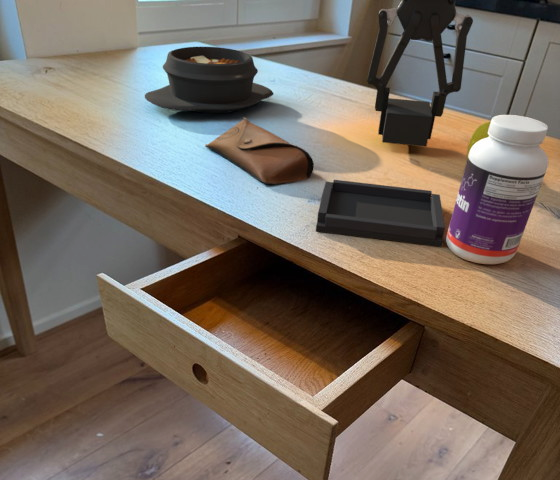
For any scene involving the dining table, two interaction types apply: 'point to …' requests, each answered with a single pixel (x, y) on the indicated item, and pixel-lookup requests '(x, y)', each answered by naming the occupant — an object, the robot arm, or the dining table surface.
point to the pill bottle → (498, 190)
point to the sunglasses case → (263, 154)
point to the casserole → (209, 81)
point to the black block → (407, 122)
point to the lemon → (479, 135)
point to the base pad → (381, 212)
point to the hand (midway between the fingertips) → (404, 134)
